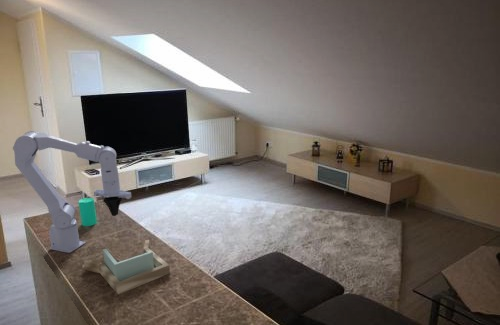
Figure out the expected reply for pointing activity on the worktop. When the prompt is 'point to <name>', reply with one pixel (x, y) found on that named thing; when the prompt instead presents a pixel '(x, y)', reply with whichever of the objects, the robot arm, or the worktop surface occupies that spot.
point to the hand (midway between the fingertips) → (115, 214)
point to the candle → (87, 211)
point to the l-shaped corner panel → (128, 265)
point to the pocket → (136, 280)
